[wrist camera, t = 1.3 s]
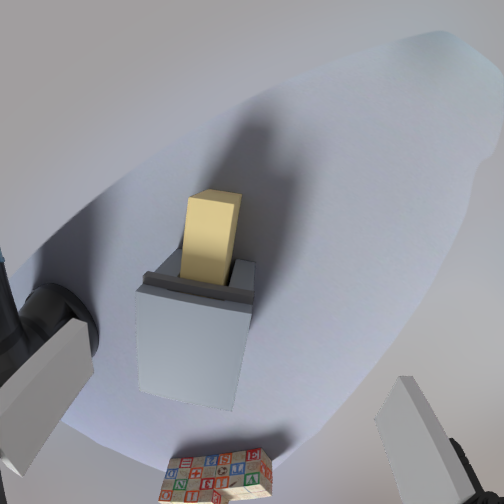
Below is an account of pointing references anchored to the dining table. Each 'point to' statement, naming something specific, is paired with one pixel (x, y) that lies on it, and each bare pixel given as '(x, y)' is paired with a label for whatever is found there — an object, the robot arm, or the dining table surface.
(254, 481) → the stack of blocks
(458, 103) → the dining table surface
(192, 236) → the upright yellow slab
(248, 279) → the dispenser
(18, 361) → the robot arm
